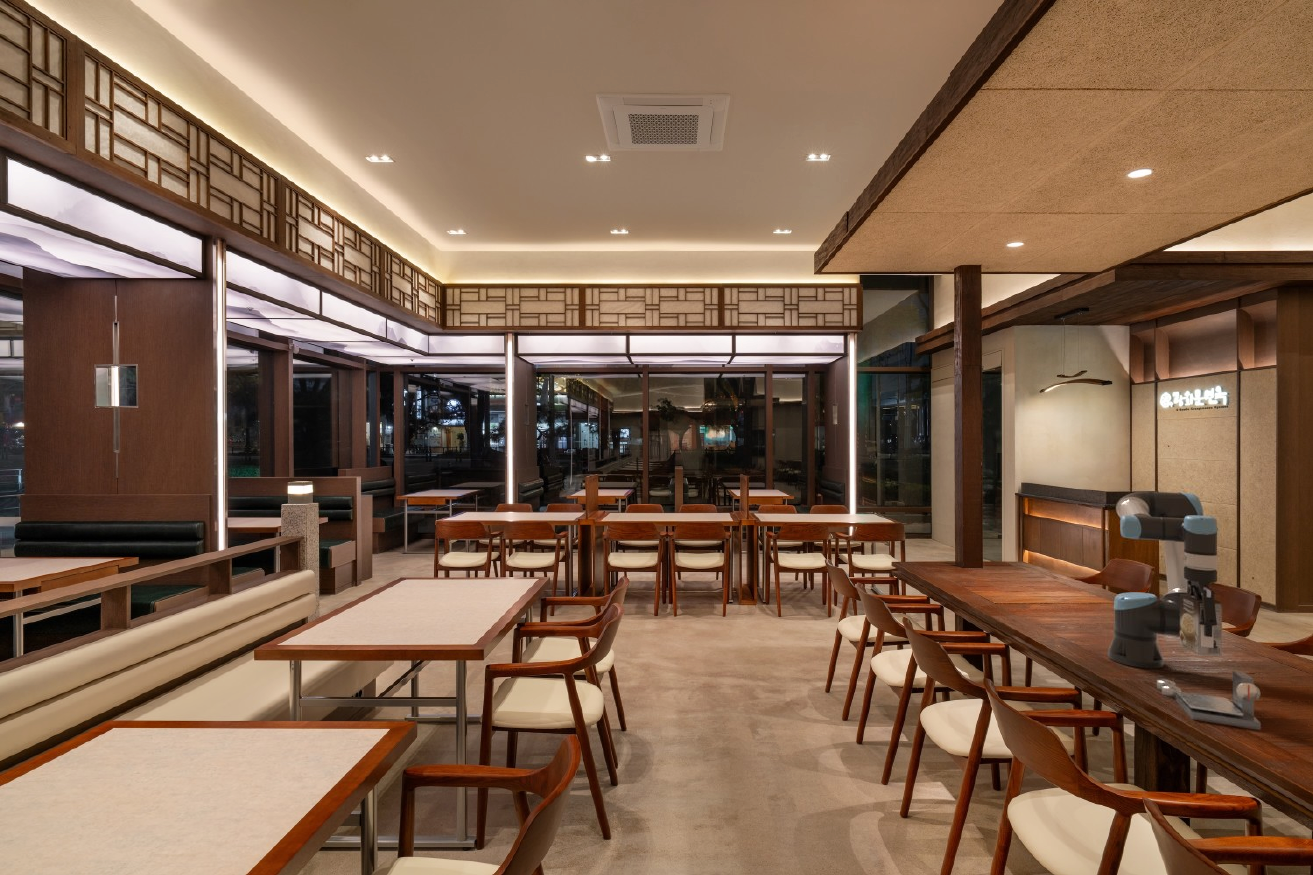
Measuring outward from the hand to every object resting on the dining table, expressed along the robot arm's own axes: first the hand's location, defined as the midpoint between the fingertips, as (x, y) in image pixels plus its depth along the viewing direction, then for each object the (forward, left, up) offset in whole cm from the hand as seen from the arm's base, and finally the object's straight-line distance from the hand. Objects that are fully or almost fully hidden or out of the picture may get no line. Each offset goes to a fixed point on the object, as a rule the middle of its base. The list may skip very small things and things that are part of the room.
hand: (1200, 641), depth 183 cm
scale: (+15, -1, -16) cm, 22 cm away
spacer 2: (+4, -8, -16) cm, 19 cm away
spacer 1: (-1, -8, -16) cm, 18 cm away
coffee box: (0, 0, -3) cm, 3 cm away
